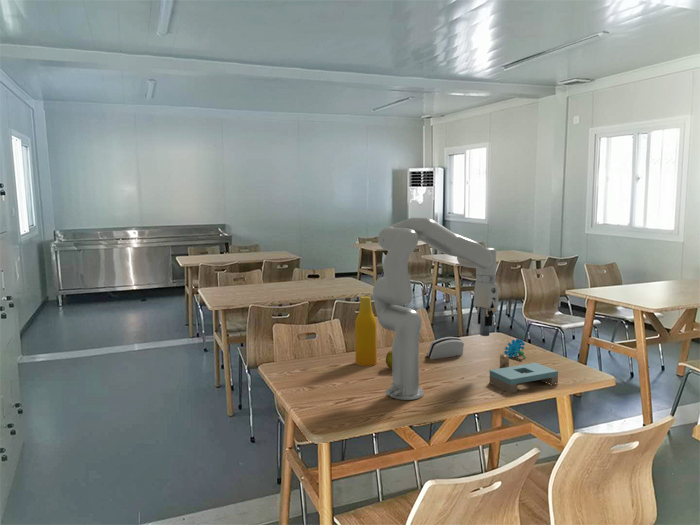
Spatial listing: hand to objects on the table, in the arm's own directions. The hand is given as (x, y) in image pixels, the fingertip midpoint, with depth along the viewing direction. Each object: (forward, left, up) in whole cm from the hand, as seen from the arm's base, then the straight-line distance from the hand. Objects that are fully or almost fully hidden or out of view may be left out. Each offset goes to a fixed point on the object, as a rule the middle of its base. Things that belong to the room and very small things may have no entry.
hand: (484, 324), depth 216 cm
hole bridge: (-2, -17, -20) cm, 26 cm away
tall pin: (0, 0, -4) cm, 4 cm away
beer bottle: (-19, +46, -20) cm, 54 cm away
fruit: (-17, +31, -20) cm, 41 cm away
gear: (+30, +1, -20) cm, 36 cm away
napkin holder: (+11, +25, -20) cm, 34 cm away
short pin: (+9, -4, -20) cm, 22 cm away
